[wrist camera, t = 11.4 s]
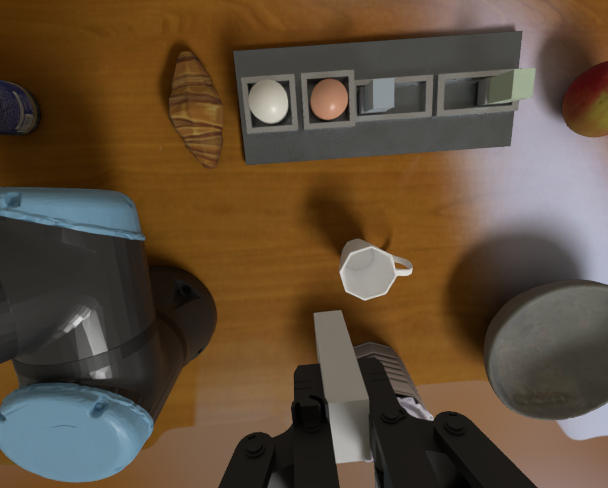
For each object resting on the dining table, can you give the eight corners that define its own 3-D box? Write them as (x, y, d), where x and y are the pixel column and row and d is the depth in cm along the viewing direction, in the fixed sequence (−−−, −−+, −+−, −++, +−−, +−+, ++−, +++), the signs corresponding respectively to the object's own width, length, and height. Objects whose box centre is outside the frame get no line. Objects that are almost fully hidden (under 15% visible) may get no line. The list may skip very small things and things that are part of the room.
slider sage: (476, 105, 41) (507, 98, 35) (478, 80, 40) (510, 69, 34) (501, 104, 41) (536, 96, 35) (503, 79, 40) (539, 67, 34)
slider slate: (358, 114, 41) (369, 108, 35) (358, 89, 40) (369, 79, 34) (383, 112, 41) (397, 106, 35) (383, 87, 40) (398, 77, 34)
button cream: (255, 125, 39) (250, 123, 35) (251, 88, 38) (246, 80, 33) (289, 123, 39) (289, 120, 35) (287, 85, 38) (286, 78, 33)
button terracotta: (310, 122, 41) (312, 120, 37) (308, 87, 40) (310, 80, 35) (342, 120, 41) (348, 117, 37) (341, 84, 40) (347, 77, 35)
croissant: (160, 58, 40) (142, 46, 35) (216, 50, 40) (205, 36, 35) (187, 171, 44) (173, 175, 39) (238, 164, 44) (230, 166, 39)
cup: (334, 227, 46) (342, 244, 39) (405, 231, 47) (426, 249, 39) (329, 274, 48) (336, 299, 40) (397, 278, 49) (417, 303, 41)
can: (406, 339, 52) (437, 394, 40) (402, 400, 55) (431, 467, 43) (332, 342, 51) (343, 399, 40) (333, 403, 55) (343, 471, 43)
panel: (247, 164, 44) (241, 166, 39) (234, 53, 40) (226, 40, 35) (505, 146, 44) (531, 146, 39) (516, 33, 40) (547, 18, 35)
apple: (614, 71, 42) (686, 55, 34) (594, 139, 44) (657, 138, 36) (555, 67, 41) (615, 49, 34) (538, 135, 43) (590, 133, 36)
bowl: (581, 381, 55) (628, 420, 47) (455, 387, 54) (481, 427, 47) (610, 260, 49) (669, 281, 41) (469, 265, 48) (501, 288, 41)
